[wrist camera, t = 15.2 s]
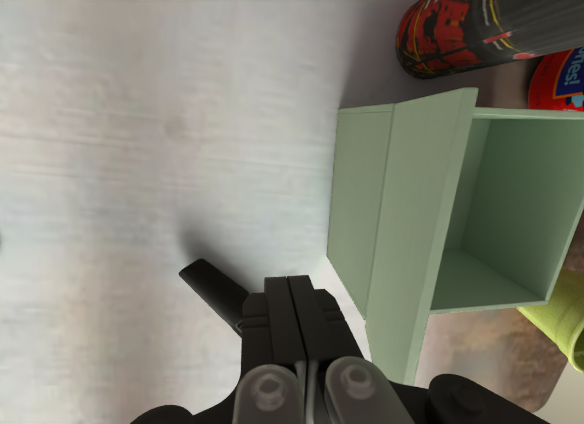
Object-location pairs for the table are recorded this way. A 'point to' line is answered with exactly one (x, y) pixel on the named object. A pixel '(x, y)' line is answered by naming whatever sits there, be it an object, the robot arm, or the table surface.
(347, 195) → the carton
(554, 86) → the soda can
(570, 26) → the deodorant
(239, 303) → the electric trimmer
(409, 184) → the flap
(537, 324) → the plant pot
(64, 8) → the table surface
